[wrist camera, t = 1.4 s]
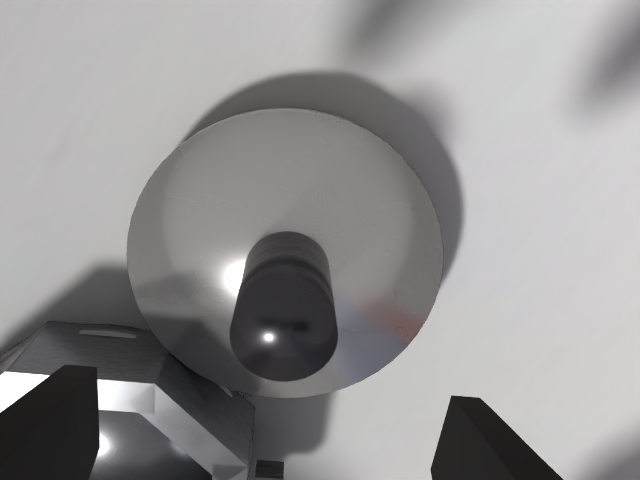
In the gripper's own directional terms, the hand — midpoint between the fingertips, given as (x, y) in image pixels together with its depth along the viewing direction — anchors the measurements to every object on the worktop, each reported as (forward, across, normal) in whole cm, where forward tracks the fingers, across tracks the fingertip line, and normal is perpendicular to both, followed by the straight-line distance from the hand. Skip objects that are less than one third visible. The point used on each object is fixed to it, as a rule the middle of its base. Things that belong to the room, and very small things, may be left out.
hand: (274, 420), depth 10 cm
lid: (+8, 0, 0) cm, 8 cm away
